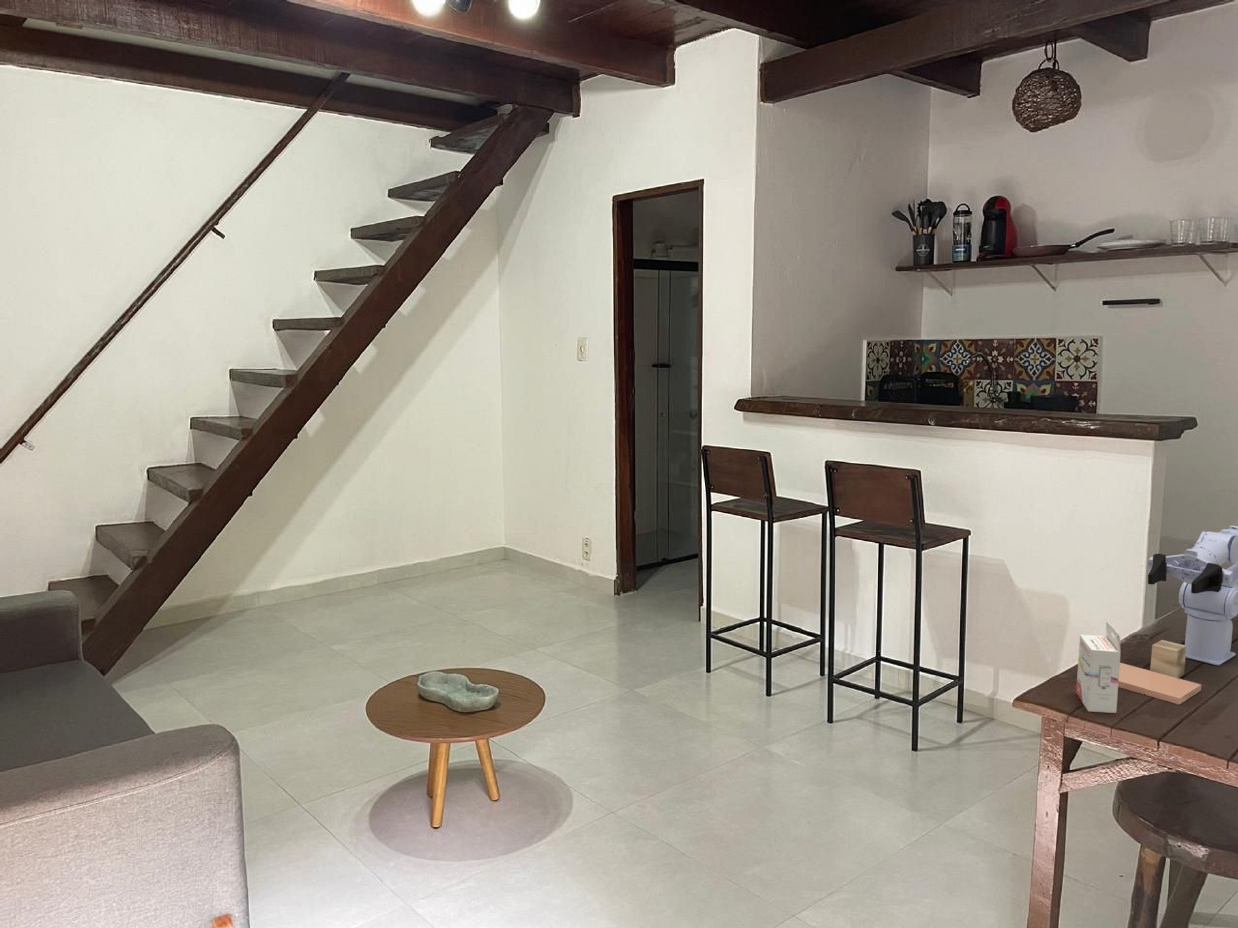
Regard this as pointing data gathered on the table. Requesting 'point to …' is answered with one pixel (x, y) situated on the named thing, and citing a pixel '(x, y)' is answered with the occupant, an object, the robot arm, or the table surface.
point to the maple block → (1168, 658)
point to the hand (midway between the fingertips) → (1171, 583)
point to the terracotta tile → (1156, 684)
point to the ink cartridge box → (1099, 671)
